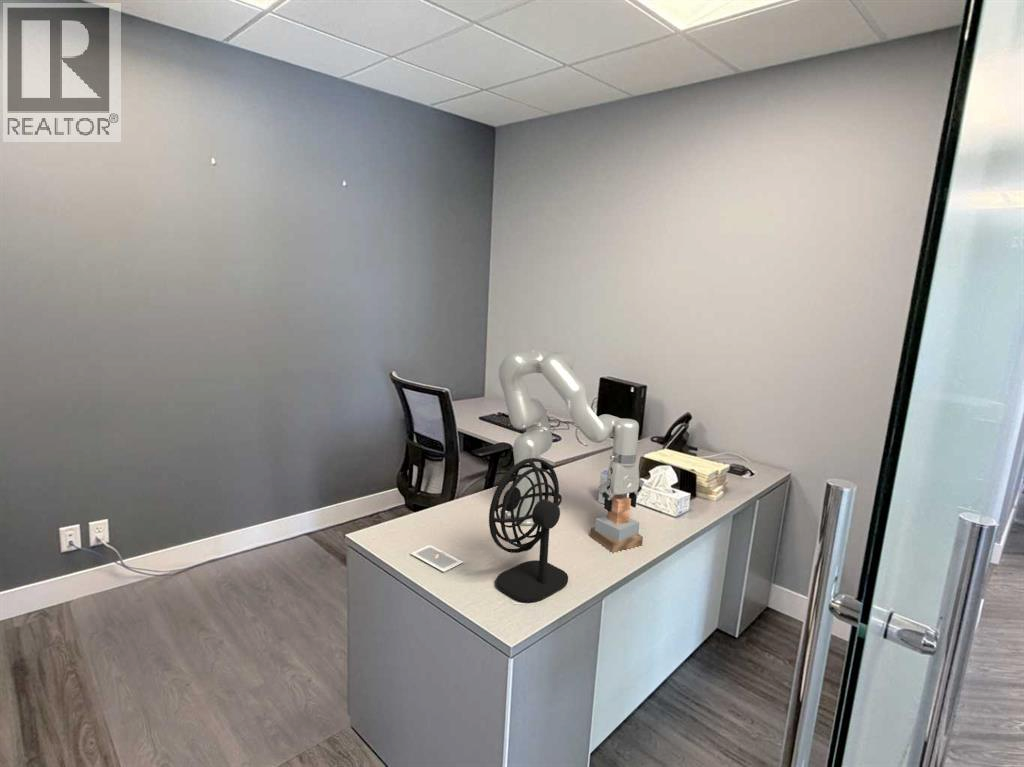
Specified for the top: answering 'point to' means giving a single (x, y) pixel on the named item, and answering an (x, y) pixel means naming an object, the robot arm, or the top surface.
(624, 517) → the terracotta block
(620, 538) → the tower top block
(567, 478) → the top surface
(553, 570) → the desk fan
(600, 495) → the ink cartridge box
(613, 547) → the tower base block
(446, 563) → the touchpad
